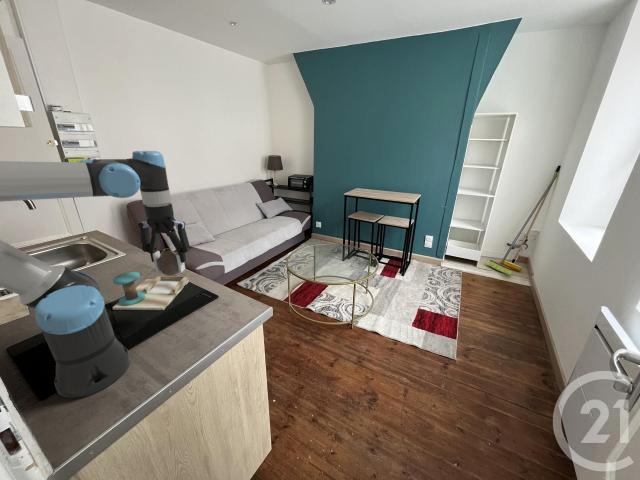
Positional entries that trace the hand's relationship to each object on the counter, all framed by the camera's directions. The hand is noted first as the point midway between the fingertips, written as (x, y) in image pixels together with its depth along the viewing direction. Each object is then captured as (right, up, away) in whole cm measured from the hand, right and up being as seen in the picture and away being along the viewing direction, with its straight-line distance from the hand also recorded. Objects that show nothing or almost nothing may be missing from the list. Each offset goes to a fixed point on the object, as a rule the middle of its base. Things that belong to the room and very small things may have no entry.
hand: (171, 270), depth 89 cm
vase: (0, -1, +1) cm, 1 cm away
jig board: (-15, -11, +15) cm, 24 cm away
